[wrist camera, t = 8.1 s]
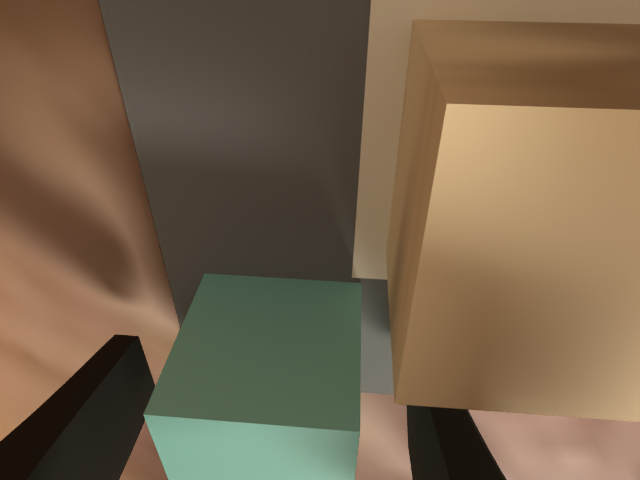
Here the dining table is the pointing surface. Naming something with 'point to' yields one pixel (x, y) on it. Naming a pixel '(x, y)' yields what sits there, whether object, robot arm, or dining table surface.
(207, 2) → the grey flat slab
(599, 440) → the dining table surface
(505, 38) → the maple block
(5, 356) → the dining table surface
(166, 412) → the teal cube
